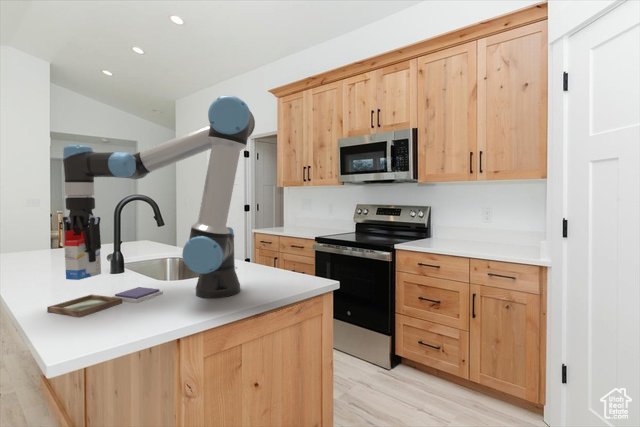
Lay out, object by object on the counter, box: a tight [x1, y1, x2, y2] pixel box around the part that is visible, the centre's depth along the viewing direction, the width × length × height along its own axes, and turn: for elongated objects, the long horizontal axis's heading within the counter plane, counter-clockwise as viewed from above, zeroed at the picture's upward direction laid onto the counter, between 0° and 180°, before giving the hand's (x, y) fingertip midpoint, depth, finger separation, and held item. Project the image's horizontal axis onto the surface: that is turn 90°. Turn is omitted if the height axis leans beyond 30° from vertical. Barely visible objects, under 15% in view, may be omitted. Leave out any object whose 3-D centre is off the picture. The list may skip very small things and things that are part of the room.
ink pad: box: [111, 286, 164, 304], centre depth 123 cm, size 11×11×2 cm
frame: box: [46, 293, 123, 318], centre depth 112 cm, size 14×14×2 cm
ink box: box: [63, 230, 102, 281], centre depth 112 cm, size 8×5×15 cm, turn 167°
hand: (83, 271), depth 112 cm, fingers closed on ink box, 5 cm apart
